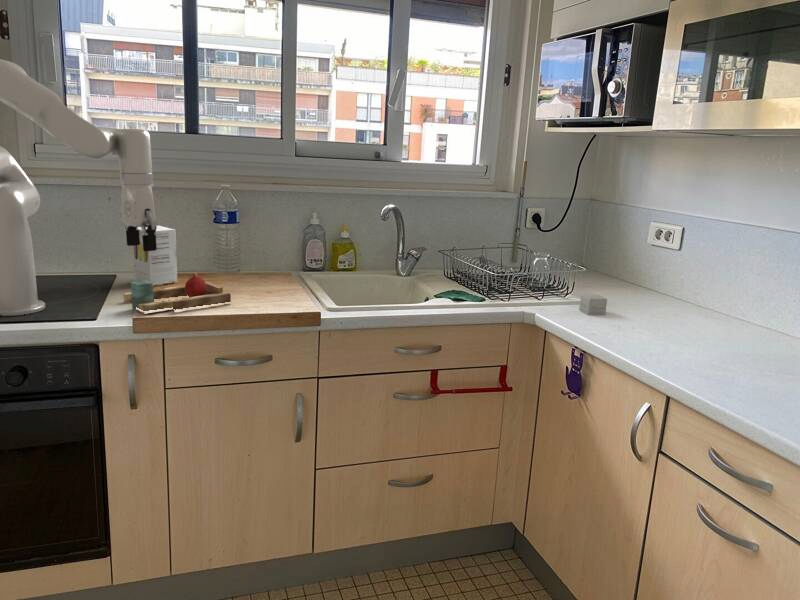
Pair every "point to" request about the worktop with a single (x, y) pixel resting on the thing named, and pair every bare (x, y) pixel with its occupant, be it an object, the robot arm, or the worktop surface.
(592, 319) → the worktop surface
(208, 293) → the tan frame
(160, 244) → the supplement box
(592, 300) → the small box
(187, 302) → the lane rails
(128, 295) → the broken strip
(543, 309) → the worktop surface
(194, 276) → the onion
